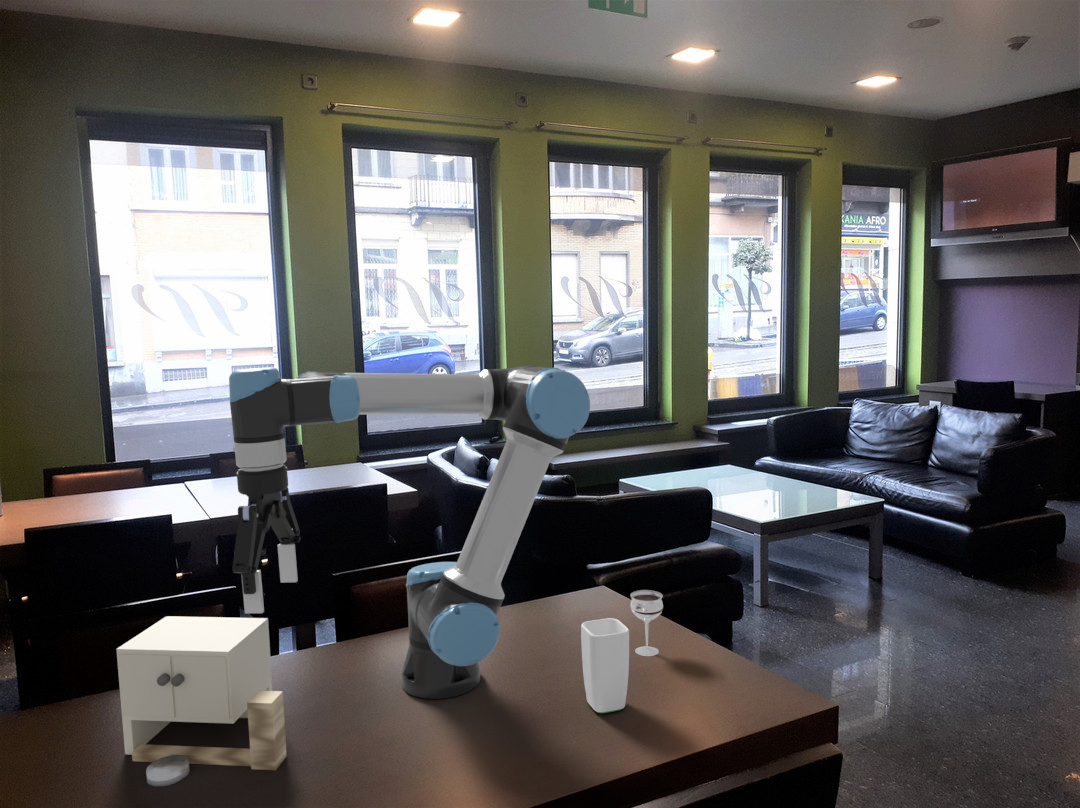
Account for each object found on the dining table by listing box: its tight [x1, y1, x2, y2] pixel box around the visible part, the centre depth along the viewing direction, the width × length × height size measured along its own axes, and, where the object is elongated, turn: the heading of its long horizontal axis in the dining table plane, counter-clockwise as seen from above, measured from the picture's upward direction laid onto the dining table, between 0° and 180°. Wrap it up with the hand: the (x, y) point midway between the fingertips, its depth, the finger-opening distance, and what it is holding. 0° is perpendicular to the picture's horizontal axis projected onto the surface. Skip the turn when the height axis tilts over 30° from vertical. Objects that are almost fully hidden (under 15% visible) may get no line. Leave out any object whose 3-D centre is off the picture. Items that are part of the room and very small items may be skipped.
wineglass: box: [629, 589, 664, 657], centre depth 163 cm, size 7×7×12 cm
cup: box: [580, 617, 630, 714], centre depth 140 cm, size 7×7×15 cm
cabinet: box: [115, 615, 273, 756], centre depth 133 cm, size 19×16×18 cm
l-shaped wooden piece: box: [131, 690, 288, 771], centre depth 126 cm, size 24×4×11 cm, turn 84°
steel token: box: [145, 755, 190, 788], centre depth 122 cm, size 6×6×2 cm
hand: (272, 596), depth 126 cm, fingers open, 13 cm apart
